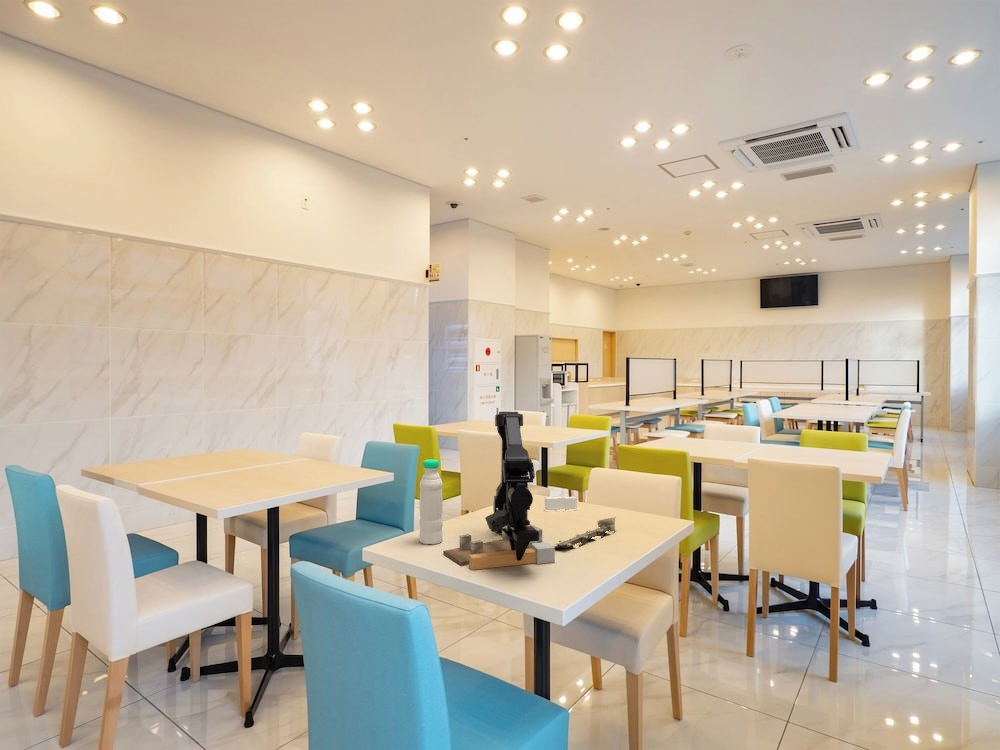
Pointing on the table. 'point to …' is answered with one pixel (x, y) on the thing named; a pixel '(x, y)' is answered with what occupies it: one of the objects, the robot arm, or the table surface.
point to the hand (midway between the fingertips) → (516, 558)
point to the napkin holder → (560, 503)
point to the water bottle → (431, 504)
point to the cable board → (482, 547)
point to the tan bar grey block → (514, 557)
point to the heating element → (589, 534)
